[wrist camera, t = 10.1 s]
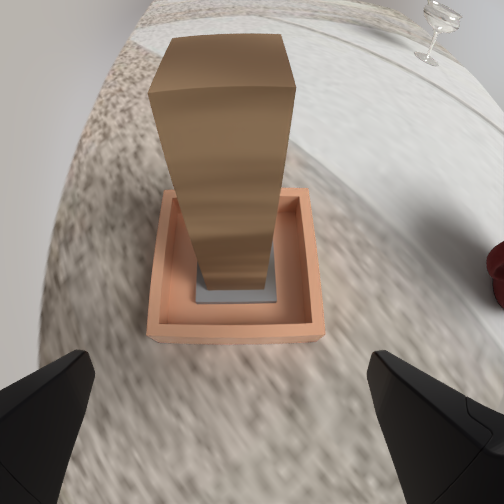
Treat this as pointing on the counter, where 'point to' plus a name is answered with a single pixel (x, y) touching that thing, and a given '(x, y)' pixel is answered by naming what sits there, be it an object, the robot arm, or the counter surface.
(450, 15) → the wineglass
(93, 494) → the counter surface
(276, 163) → the wood grain bar
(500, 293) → the mug
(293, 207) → the dish
